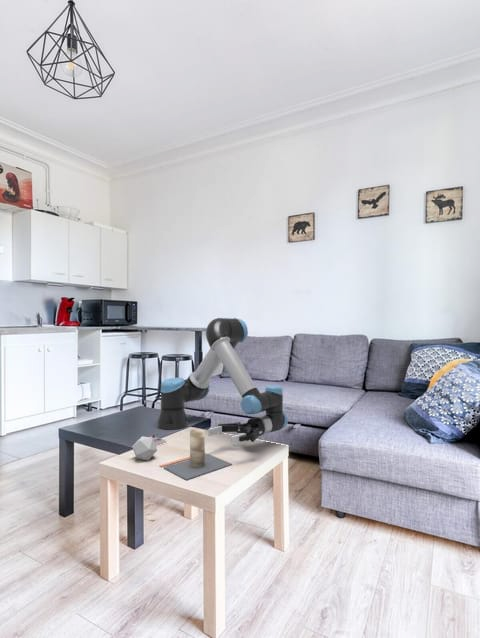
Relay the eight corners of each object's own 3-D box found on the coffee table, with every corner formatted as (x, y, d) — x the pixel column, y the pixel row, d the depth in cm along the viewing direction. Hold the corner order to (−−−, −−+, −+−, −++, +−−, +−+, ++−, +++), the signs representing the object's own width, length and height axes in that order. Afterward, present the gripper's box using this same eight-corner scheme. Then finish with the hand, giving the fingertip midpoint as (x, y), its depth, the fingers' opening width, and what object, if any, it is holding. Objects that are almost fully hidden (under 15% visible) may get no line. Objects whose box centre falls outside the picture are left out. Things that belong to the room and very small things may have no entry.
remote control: (157, 449, 152) (157, 442, 152) (135, 441, 162) (135, 435, 162) (170, 445, 157) (170, 438, 157) (147, 438, 167) (147, 431, 167)
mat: (208, 454, 144) (208, 453, 144) (232, 464, 133) (232, 463, 133) (163, 468, 130) (163, 467, 130) (186, 480, 120) (186, 479, 120)
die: (161, 458, 142) (155, 434, 146) (154, 454, 134) (148, 429, 139) (140, 466, 141) (135, 442, 146) (133, 463, 133) (127, 437, 138)
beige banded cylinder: (198, 461, 136) (198, 428, 136) (207, 464, 132) (207, 431, 132) (187, 464, 132) (187, 431, 133) (195, 468, 128) (195, 434, 129)
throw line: (203, 453, 146) (203, 452, 146) (206, 454, 145) (206, 453, 145) (159, 466, 132) (159, 465, 132) (161, 467, 131) (161, 466, 131)
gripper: (281, 442, 145) (242, 454, 130) (238, 428, 163) (199, 438, 148) (281, 422, 145) (242, 433, 130) (238, 412, 163) (200, 420, 149)
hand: (219, 436), depth 139 cm, fingers open, 13 cm apart
